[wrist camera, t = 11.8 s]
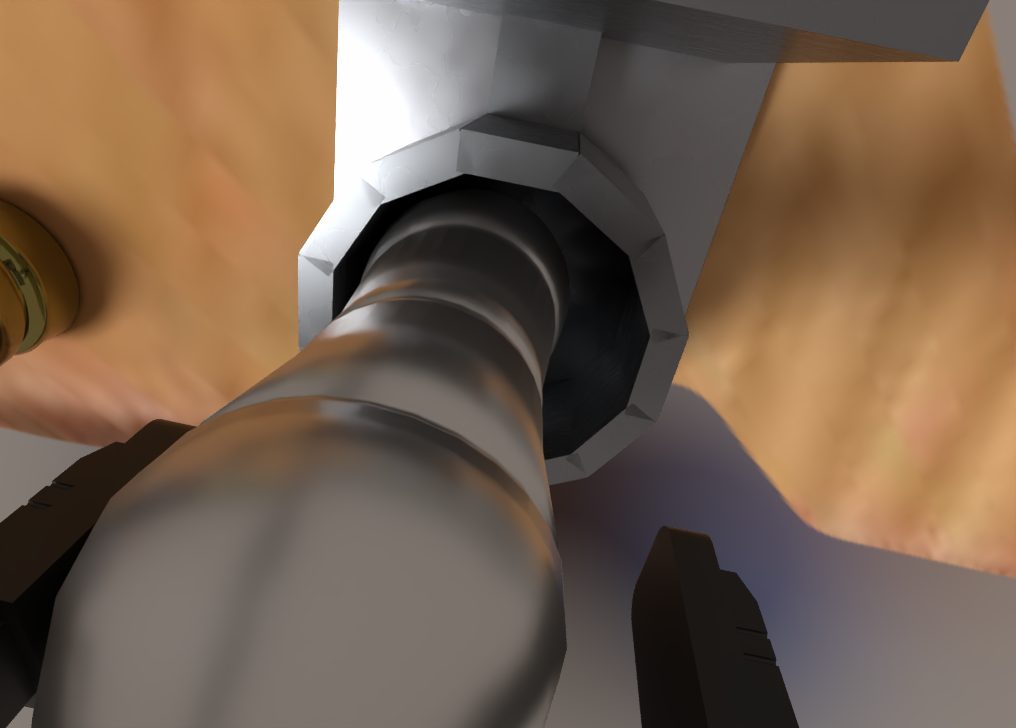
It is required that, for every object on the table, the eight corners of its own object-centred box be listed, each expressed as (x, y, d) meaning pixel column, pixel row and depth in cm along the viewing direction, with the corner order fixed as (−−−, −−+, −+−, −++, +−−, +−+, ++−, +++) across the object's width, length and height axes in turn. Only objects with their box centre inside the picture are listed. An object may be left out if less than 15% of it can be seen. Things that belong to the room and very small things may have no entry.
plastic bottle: (608, 268, 20) (933, 1798, 2) (479, 381, 23) (188, 1491, 5) (475, 131, 18) (-2069, 2176, 1) (352, 270, 21) (-772, 1392, 3)
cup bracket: (355, -108, 19) (-77, -443, 6) (794, -20, 19) (1230, -190, 6) (339, 356, 28) (142, 597, 15) (639, 419, 27) (692, 716, 15)
